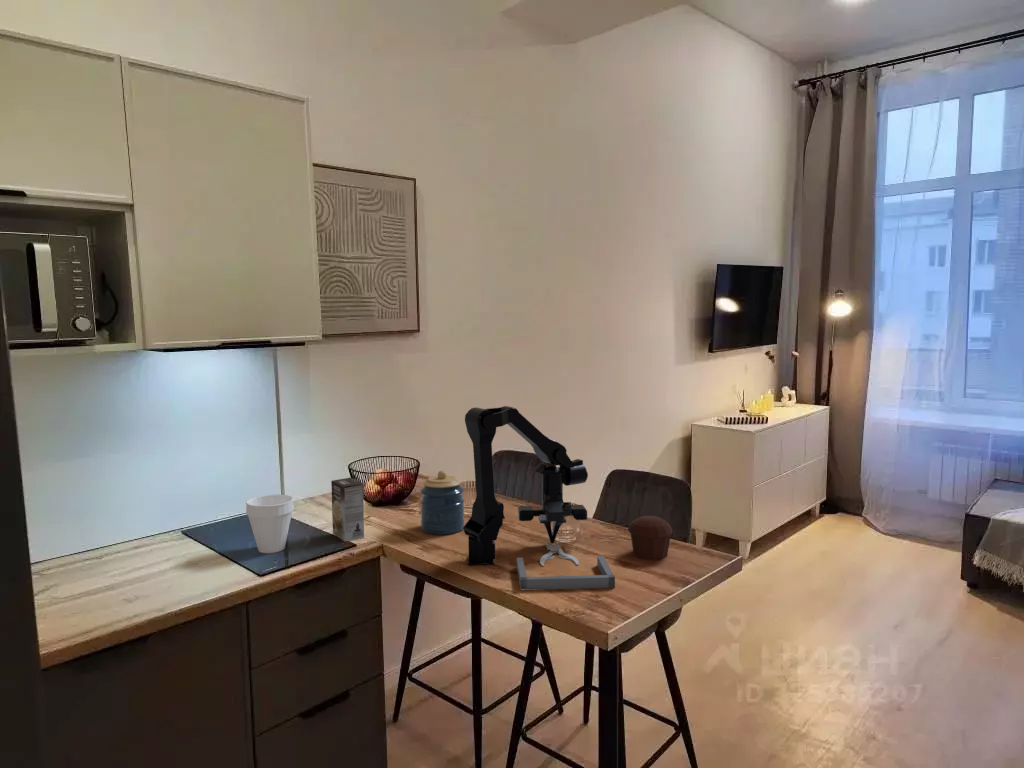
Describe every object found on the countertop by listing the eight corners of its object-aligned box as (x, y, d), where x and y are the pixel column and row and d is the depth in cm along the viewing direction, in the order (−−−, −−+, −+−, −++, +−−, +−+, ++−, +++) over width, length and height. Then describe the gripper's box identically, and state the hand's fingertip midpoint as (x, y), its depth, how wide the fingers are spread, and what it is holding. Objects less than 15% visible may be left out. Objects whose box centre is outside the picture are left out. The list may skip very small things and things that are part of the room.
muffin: (667, 547, 188) (668, 511, 187) (676, 561, 177) (677, 523, 176) (624, 547, 188) (624, 511, 187) (630, 561, 177) (630, 523, 176)
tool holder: (520, 590, 158) (520, 579, 158) (516, 567, 173) (516, 557, 173) (614, 587, 160) (614, 577, 160) (603, 565, 174) (603, 555, 174)
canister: (416, 534, 199) (414, 475, 198) (426, 521, 212) (425, 465, 211) (460, 536, 198) (459, 476, 196) (468, 522, 211) (467, 466, 209)
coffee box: (331, 534, 200) (330, 480, 199) (352, 529, 204) (350, 477, 203) (344, 542, 193) (343, 486, 191) (365, 537, 197) (364, 482, 195)
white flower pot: (291, 539, 196) (290, 492, 194) (298, 552, 185) (296, 502, 183) (245, 545, 190) (243, 497, 189) (249, 559, 179) (247, 508, 178)
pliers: (541, 562, 173) (534, 542, 188) (541, 568, 173) (534, 548, 188) (579, 561, 174) (570, 541, 189) (579, 567, 174) (570, 547, 189)
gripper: (520, 496, 180) (520, 553, 182) (591, 494, 181) (590, 552, 183) (517, 485, 191) (517, 540, 193) (584, 484, 192) (583, 538, 194)
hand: (552, 543), depth 190 cm, fingers closed
